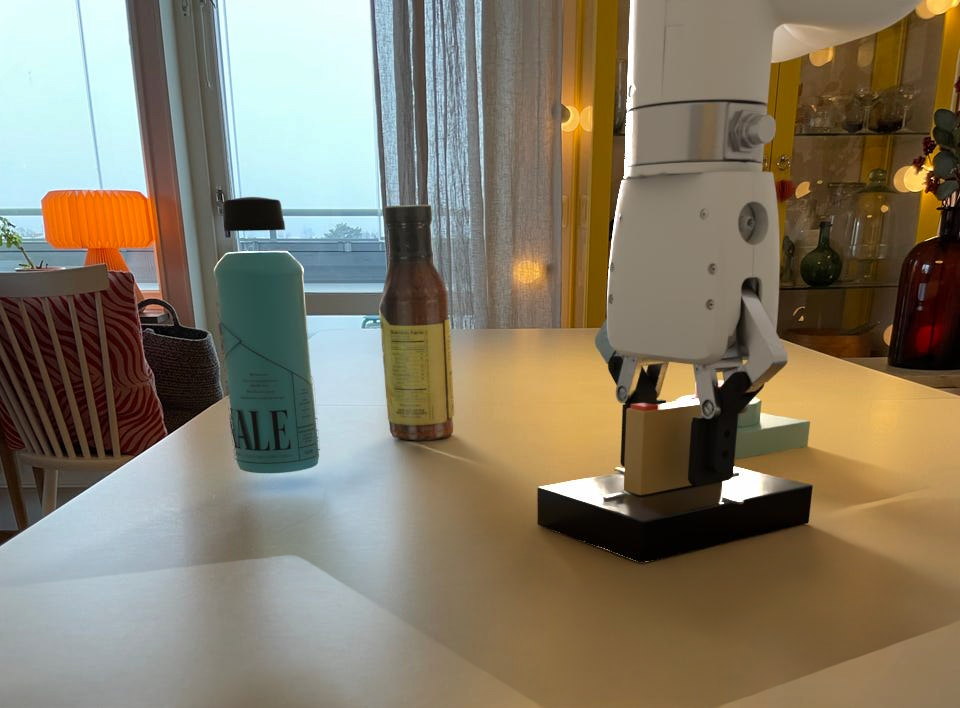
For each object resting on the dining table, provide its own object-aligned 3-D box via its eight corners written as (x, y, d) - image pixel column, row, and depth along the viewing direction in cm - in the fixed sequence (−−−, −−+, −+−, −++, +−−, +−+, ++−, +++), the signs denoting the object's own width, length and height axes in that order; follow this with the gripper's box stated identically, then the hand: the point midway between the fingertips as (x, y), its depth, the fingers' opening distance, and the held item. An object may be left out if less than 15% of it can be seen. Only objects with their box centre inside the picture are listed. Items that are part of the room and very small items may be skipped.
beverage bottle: (315, 471, 78) (292, 198, 70) (330, 489, 72) (306, 194, 64) (233, 478, 76) (199, 199, 68) (241, 498, 70) (206, 195, 62)
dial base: (690, 491, 69) (692, 454, 68) (816, 525, 61) (821, 484, 60) (531, 523, 62) (531, 482, 61) (648, 567, 54) (650, 520, 53)
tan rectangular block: (705, 475, 63) (711, 392, 61) (723, 479, 62) (730, 395, 60) (623, 490, 60) (626, 404, 57) (640, 495, 58) (644, 407, 56)
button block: (722, 430, 91) (725, 386, 89) (807, 446, 83) (813, 399, 81) (624, 446, 85) (625, 399, 83) (706, 465, 77) (710, 414, 76)
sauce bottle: (416, 428, 95) (406, 206, 87) (468, 434, 91) (462, 204, 84) (372, 439, 90) (358, 205, 82) (425, 446, 87) (415, 202, 79)
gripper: (870, 136, 49) (827, 491, 55) (641, 161, 62) (630, 444, 69) (766, 130, 45) (734, 511, 52) (546, 158, 58) (545, 458, 65)
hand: (675, 470), depth 60 cm, fingers open, 5 cm apart
